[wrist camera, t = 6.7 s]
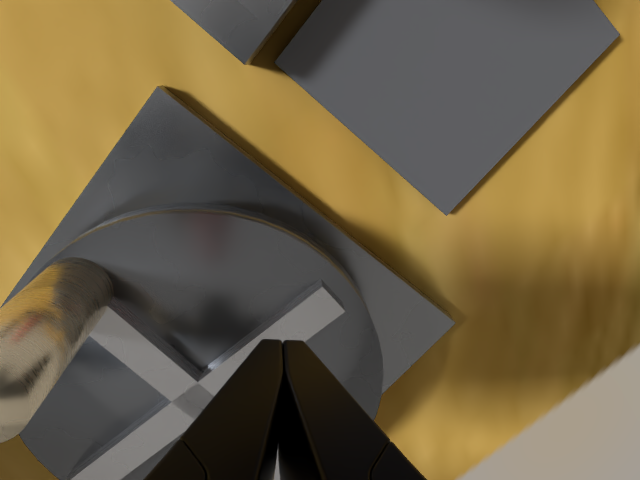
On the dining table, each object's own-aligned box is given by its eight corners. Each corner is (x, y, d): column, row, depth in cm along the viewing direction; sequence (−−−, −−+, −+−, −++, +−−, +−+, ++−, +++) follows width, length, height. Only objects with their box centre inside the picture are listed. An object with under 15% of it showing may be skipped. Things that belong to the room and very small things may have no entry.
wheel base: (244, 514, 19) (242, 545, 18) (-41, 370, 15) (-68, 396, 14) (449, 314, 16) (463, 333, 15) (162, 85, 13) (150, 87, 12)
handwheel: (440, 377, 15) (521, 530, 10) (201, 542, 17) (169, 741, 12) (210, 117, 12) (160, 156, 7) (-64, 360, 13) (-268, 537, 8)
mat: (442, 212, 15) (446, 215, 15) (274, 62, 13) (274, 62, 12) (610, 35, 13) (620, 34, 13) (450, -167, 11) (456, -175, 11)
